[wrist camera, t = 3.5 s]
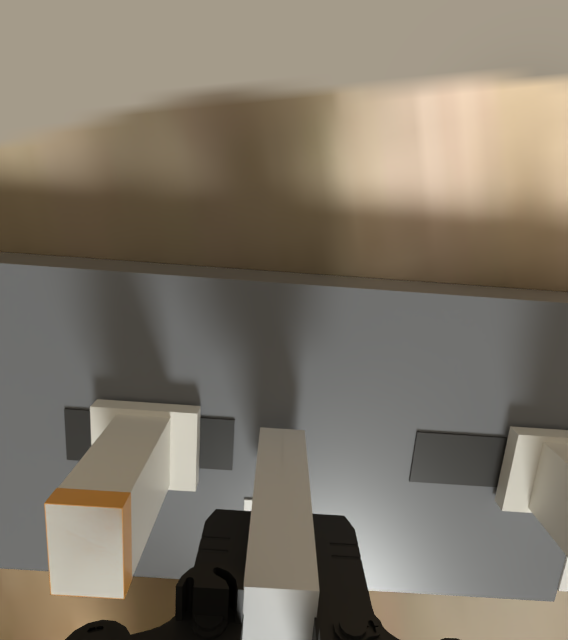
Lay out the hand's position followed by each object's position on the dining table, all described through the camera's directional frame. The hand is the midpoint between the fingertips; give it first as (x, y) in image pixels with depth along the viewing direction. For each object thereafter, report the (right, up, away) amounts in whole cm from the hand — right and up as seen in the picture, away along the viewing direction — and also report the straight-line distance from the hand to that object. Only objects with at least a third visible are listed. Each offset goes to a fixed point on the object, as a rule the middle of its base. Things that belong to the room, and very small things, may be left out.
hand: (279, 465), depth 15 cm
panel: (-5, +1, +3) cm, 6 cm away
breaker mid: (-5, +1, +1) cm, 5 cm away
